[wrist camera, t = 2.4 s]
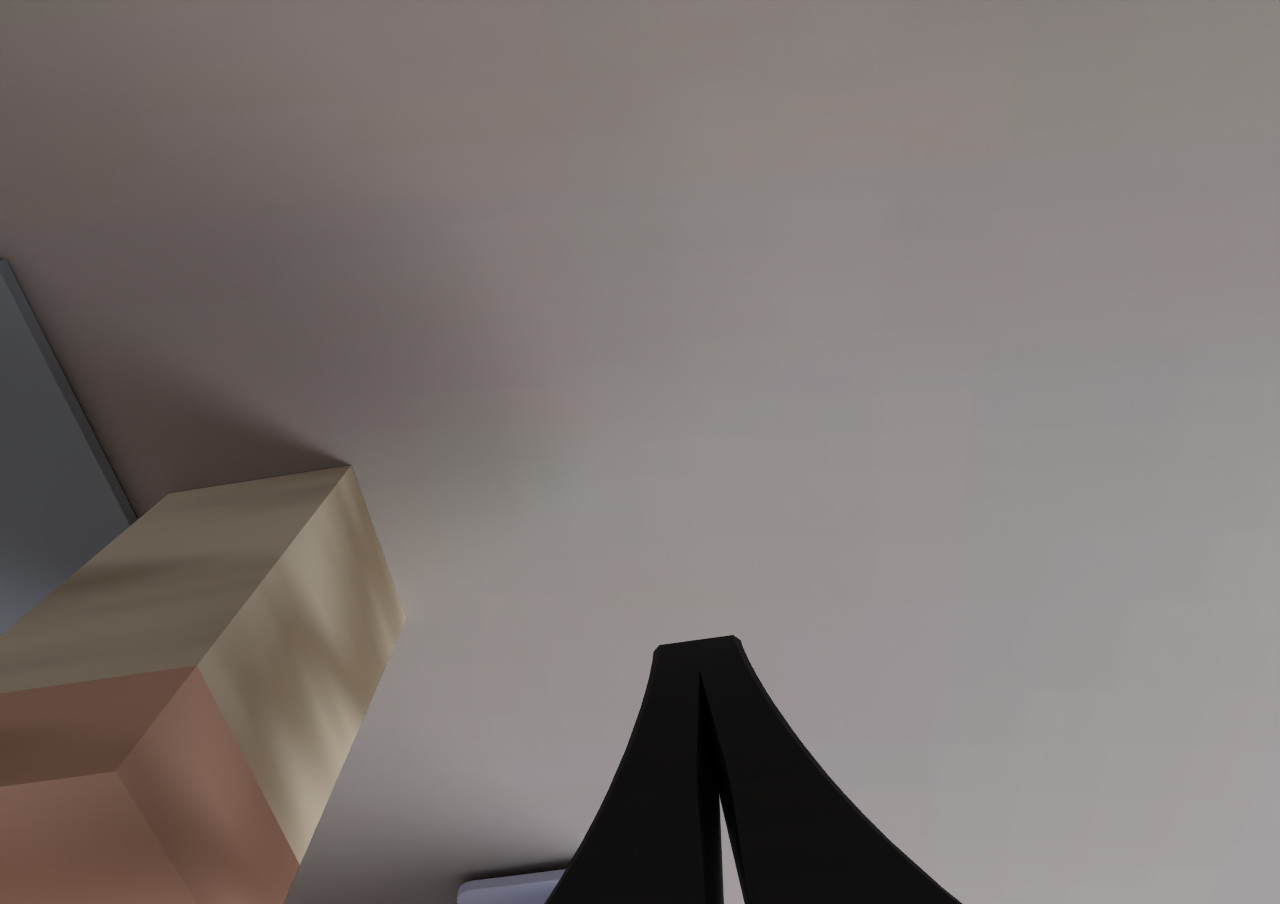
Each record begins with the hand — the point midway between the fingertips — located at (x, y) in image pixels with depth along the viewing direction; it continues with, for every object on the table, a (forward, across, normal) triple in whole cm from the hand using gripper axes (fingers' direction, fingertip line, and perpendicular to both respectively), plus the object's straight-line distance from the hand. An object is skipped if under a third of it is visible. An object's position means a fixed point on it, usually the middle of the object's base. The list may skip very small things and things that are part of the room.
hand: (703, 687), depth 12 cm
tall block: (+6, +10, 0) cm, 12 cm away
